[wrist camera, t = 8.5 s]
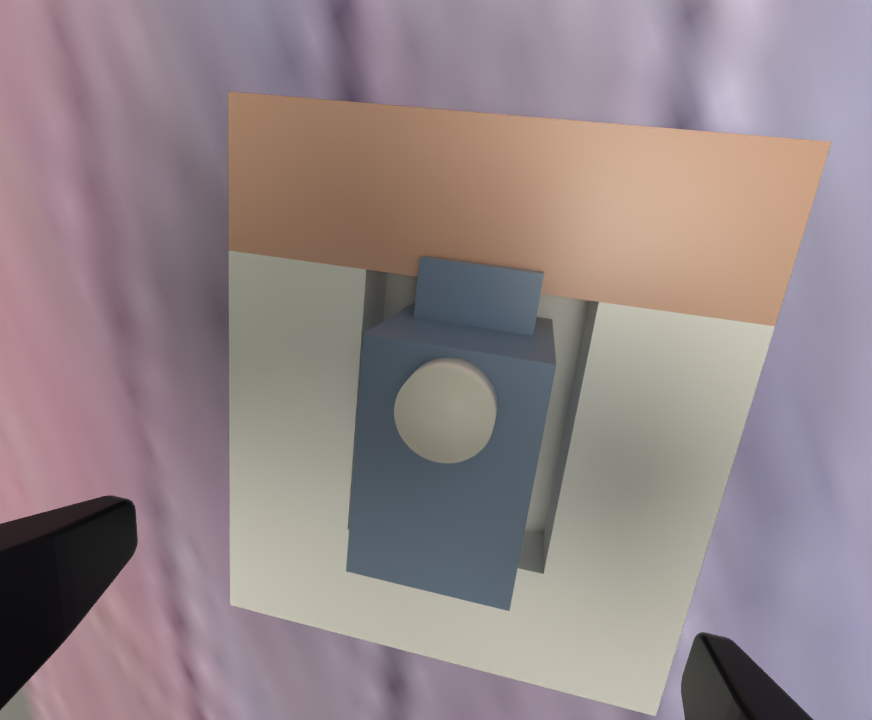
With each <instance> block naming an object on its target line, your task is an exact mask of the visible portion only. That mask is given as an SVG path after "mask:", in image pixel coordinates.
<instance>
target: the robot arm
mask: <svg viewBox="0 0 872 720" xmlns="http://www.w3.org/2000/svg"><path fill="white" fill-rule="evenodd" d="M137 542H138V538H137V523H136V509H135V505H134V503H133V502H132V501H130V500H129V499H125V498H120V497H116V496H103V497H99V498H96V499H92V500H88V501H84V502H81V503H77V504H73V505H69V506H66V507H62V508H58V509H54V510H51V511H47V512H43V513H39V514H36V515H32V516H28V517H24V518H21V519H17V520H13V521H9V522H6V523H2V524H0V710H1V709H2V708H3V707H4V706H5V705H6V704H7V703H8V702H9V701H10V699H11V698H12V697H13V696H14V695H15V694H16V693H17V692H18V691H19V690H20V689H21V688H22V687H23V686H24V684H25V683H26V682H27V681H28V680H29V679H30V678H31V677H32V676H33V675H34V674H35V673H36V672H37V671H38V669H39V668H40V667H41V666H42V665H43V664H44V663H45V662H46V661H47V660H48V659H49V658H50V657H51V656H52V654H53V653H54V652H55V651H56V650H57V649H58V648H59V647H60V646H61V644H62V643H63V642H64V641H65V640H66V639H67V638H68V636H69V635H70V634H71V633H72V632H73V630H74V629H75V628H76V627H77V626H78V624H79V623H80V622H81V621H82V619H83V618H84V617H85V616H86V614H87V613H88V612H89V610H90V609H91V608H92V607H93V605H94V604H95V603H96V602H97V600H98V599H99V598H100V597H101V595H102V594H103V593H104V592H105V590H106V589H107V588H108V587H109V585H110V584H111V583H112V582H113V580H114V579H115V578H116V576H117V575H118V574H119V573H120V571H121V570H122V569H123V568H124V566H125V565H126V564H127V563H128V561H129V560H130V559H131V557H132V556H133V554H134V552H135V550H136V547H137ZM681 694H682V701H683V708H684V715H685V720H813V719H812V718H811V717H810V716H809V715H808V714H807V713H806V712H805V711H804V710H803V709H802V708H801V707H800V706H799V705H798V704H797V703H796V702H795V701H794V700H793V699H792V698H791V697H790V696H789V695H788V694H787V693H786V692H785V691H784V690H783V689H782V688H781V687H780V686H779V685H777V684H776V683H775V682H774V681H773V680H772V679H771V678H770V677H769V676H768V675H767V674H766V673H765V672H764V671H763V670H762V669H761V668H760V667H759V666H758V665H757V664H756V663H755V662H754V661H753V660H752V659H751V658H750V657H749V656H748V655H747V654H746V653H745V652H744V651H743V650H742V649H741V648H740V647H739V646H738V645H737V644H736V643H734V642H733V641H732V640H731V639H729V638H726V637H722V636H718V635H713V634H709V633H705V632H701V633H699V634H697V635H696V637H695V639H694V641H693V644H692V647H691V651H690V654H689V657H688V660H687V663H686V666H685V669H684V673H683V676H682V682H681Z"/></svg>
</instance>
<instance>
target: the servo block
mask: <svg viewBox="0 0 872 720" xmlns="http://www.w3.org/2000/svg"><path fill="white" fill-rule="evenodd" d="M543 277H544V272H542V271H534V270H527V269H520V268H512V267H505V266H498V265H490V264H483V263H476V262H468V261H461V260H453V259H446V258H439V257H431V256H422V257H420V260H419V269H418V279H417V288H416V298H415V302H414V303H412V304H410V305H409V306H407V307H405V308H404V309H402V310H401V311H399V312H397V313H396V314H394V315H393V316H391V317H389V318H388V319H386V320H385V321H383V322H381V323H380V324H378V325H377V326H375V327H373V328H372V329H370V330H369V331H367V332H365V333H364V343H363V356H362V369H361V382H360V395H359V408H358V421H357V434H356V447H355V460H354V473H353V486H352V499H351V512H350V525H349V538H348V551H347V564H346V572H351V573H355V574H359V575H363V576H367V577H371V578H375V579H379V580H383V581H387V582H392V583H396V584H400V585H404V586H408V587H412V588H416V589H420V590H424V591H429V592H433V593H437V594H441V595H445V596H449V597H453V598H457V599H461V600H465V601H470V602H474V603H478V604H482V605H486V606H490V607H494V608H498V609H502V610H506V611H510V606H511V600H512V595H513V590H514V585H515V579H516V574H517V569H518V564H519V558H520V553H521V548H522V543H523V537H524V532H525V527H526V521H527V516H528V511H529V506H530V500H531V495H532V490H533V485H534V479H535V474H536V469H537V464H538V458H539V453H540V448H541V443H542V437H543V432H544V427H545V422H546V416H547V411H548V406H549V401H550V395H551V390H552V385H553V380H554V374H555V369H556V355H555V344H554V333H553V322H552V319H548V318H542V317H537V311H538V306H539V300H540V294H541V288H542V283H543Z"/></svg>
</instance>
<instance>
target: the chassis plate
mask: <svg viewBox="0 0 872 720" xmlns="http://www.w3.org/2000/svg"><path fill="white" fill-rule="evenodd" d="M830 145H831V142H827V141H815V140H803V139H791V138H779V137H767V136H755V135H743V134H731V133H719V132H707V131H696V130H684V129H672V128H660V127H648V126H636V125H624V124H612V123H600V122H588V121H576V120H564V119H552V118H540V117H528V116H516V115H504V114H492V113H480V112H468V111H456V110H445V109H433V108H421V107H409V106H397V105H385V104H373V103H361V102H349V101H337V100H325V99H313V98H301V97H289V96H277V95H265V94H253V93H241V92H229V91H228V186H229V459H230V605H232V606H236V607H240V608H244V609H248V610H251V611H255V612H259V613H263V614H267V615H270V616H274V617H278V618H282V619H286V620H290V621H293V622H297V623H301V624H305V625H309V626H312V627H316V628H320V629H324V630H328V631H332V632H335V633H339V634H343V635H347V636H351V637H354V638H358V639H362V640H366V641H370V642H374V643H377V644H381V645H385V646H389V647H393V648H397V649H400V650H404V651H408V652H412V653H416V654H419V655H423V656H427V657H431V658H435V659H439V660H442V661H446V662H450V663H454V664H458V665H461V666H465V667H469V668H473V669H477V670H481V671H484V672H488V673H492V674H496V675H500V676H504V677H507V678H511V679H515V680H519V681H523V682H526V683H530V684H534V685H538V686H542V687H546V688H549V689H553V690H557V691H561V692H565V693H568V694H572V695H576V696H580V697H584V698H588V699H591V700H595V701H599V702H603V703H607V704H610V705H614V706H618V707H622V708H626V709H630V710H633V711H637V712H641V713H645V714H649V715H653V716H656V713H657V710H658V707H659V704H660V700H661V697H662V694H663V691H664V687H665V684H666V681H667V678H668V674H669V671H670V668H671V664H672V661H673V658H674V655H675V651H676V648H677V645H678V642H679V638H680V635H681V632H682V629H683V625H684V622H685V619H686V616H687V612H688V609H689V606H690V602H691V599H692V596H693V593H694V589H695V586H696V583H697V580H698V576H699V573H700V570H701V567H702V563H703V560H704V557H705V553H706V550H707V547H708V544H709V540H710V537H711V534H712V531H713V527H714V524H715V521H716V518H717V514H718V511H719V508H720V505H721V501H722V498H723V495H724V491H725V488H726V485H727V482H728V478H729V475H730V472H731V469H732V465H733V462H734V459H735V456H736V452H737V449H738V446H739V443H740V439H741V436H742V433H743V429H744V426H745V423H746V420H747V416H748V413H749V410H750V407H751V403H752V400H753V397H754V394H755V390H756V387H757V384H758V381H759V377H760V374H761V371H762V367H763V364H764V361H765V358H766V354H767V351H768V348H769V345H770V341H771V338H772V335H773V332H774V328H775V325H776V322H777V318H778V315H779V312H780V309H781V305H782V302H783V299H784V296H785V292H786V289H787V286H788V283H789V279H790V276H791V273H792V270H793V266H794V263H795V260H796V256H797V253H798V250H799V247H800V243H801V240H802V237H803V234H804V230H805V227H806V224H807V221H808V217H809V214H810V211H811V208H812V204H813V201H814V198H815V194H816V191H817V188H818V185H819V181H820V178H821V175H822V172H823V168H824V165H825V162H826V159H827V155H828V152H829V149H830ZM422 256H431V257H439V258H446V259H453V260H461V261H468V262H476V263H483V264H490V265H498V266H505V267H512V268H520V269H527V270H534V271H542V272H544V277H543V283H542V288H541V294H540V300H539V306H538V311H537V317H542V318H548V319H552V322H553V333H554V344H555V355H556V369H555V374H554V380H553V385H552V390H551V395H550V401H549V406H548V411H547V416H546V422H545V427H544V432H543V437H542V443H541V448H540V453H539V458H538V464H537V469H536V474H535V479H534V485H533V490H532V495H531V500H530V506H529V511H528V516H527V521H526V527H525V532H524V537H523V543H522V548H521V553H520V558H519V564H518V569H517V574H516V579H515V585H514V590H513V595H512V600H511V606H510V611H506V610H502V609H498V608H494V607H490V606H486V605H482V604H478V603H474V602H470V601H465V600H461V599H457V598H453V597H449V596H445V595H441V594H437V593H433V592H429V591H424V590H420V589H416V588H412V587H408V586H404V585H400V584H396V583H392V582H387V581H383V580H379V579H375V578H371V577H367V576H363V575H359V574H355V573H351V572H346V564H347V551H348V538H349V525H350V512H351V499H352V486H353V473H354V460H355V447H356V434H357V421H358V408H359V395H360V382H361V369H362V356H363V343H364V333H365V332H367V331H369V330H370V329H372V328H373V327H375V326H377V325H378V324H380V323H381V322H383V321H385V320H386V319H388V318H389V317H391V316H393V315H394V314H396V313H397V312H399V311H401V310H402V309H404V308H405V307H407V306H409V305H410V304H412V303H414V302H415V298H416V288H417V279H418V269H419V260H420V257H422Z"/></svg>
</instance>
